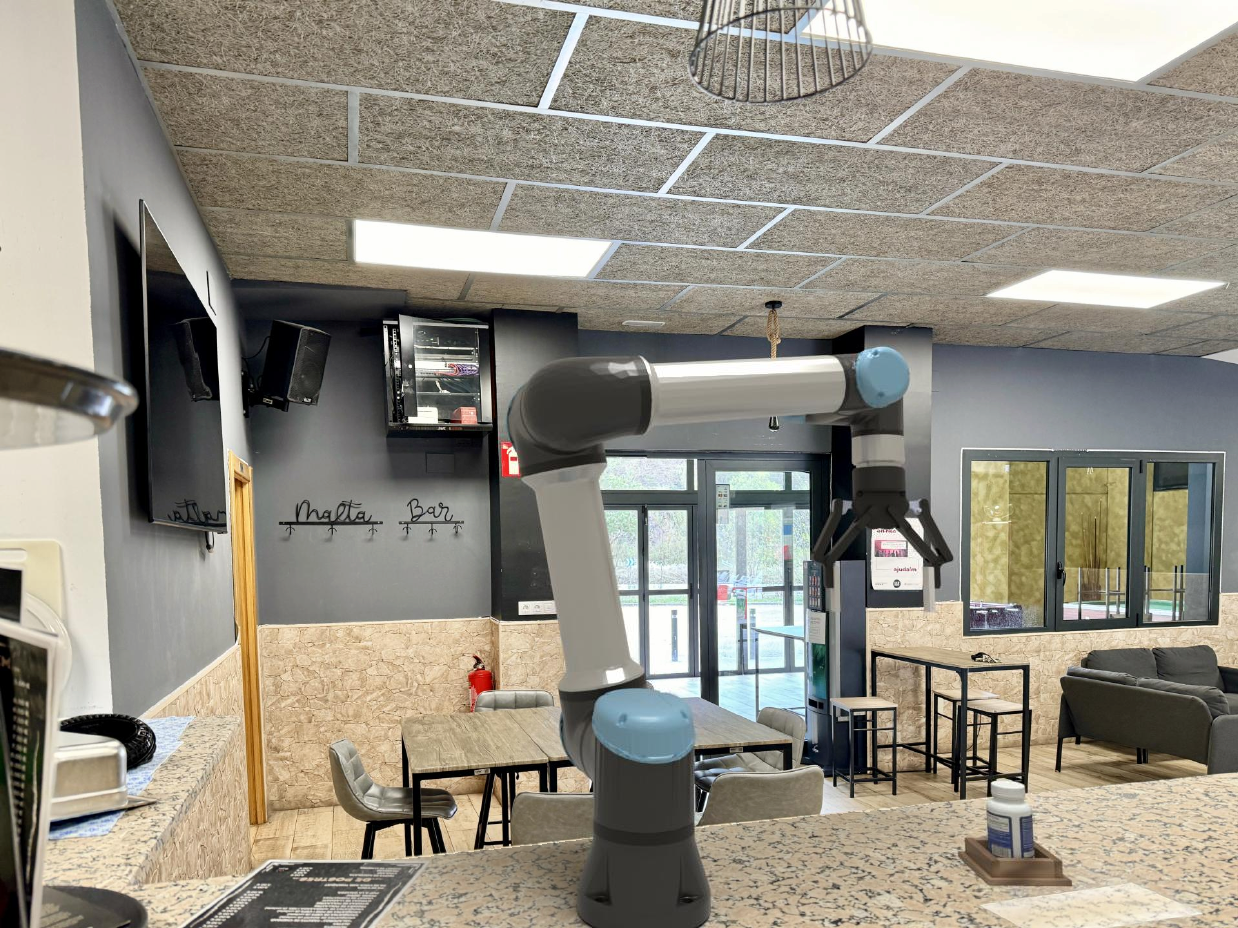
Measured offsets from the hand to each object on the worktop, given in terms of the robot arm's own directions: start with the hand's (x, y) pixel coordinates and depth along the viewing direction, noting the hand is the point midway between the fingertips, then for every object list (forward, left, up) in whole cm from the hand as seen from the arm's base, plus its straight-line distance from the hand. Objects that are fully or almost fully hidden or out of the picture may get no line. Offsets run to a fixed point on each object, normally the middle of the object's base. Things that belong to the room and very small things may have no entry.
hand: (882, 611), depth 124 cm
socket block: (+12, -12, -32) cm, 36 cm away
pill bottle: (+12, -12, -31) cm, 35 cm away
